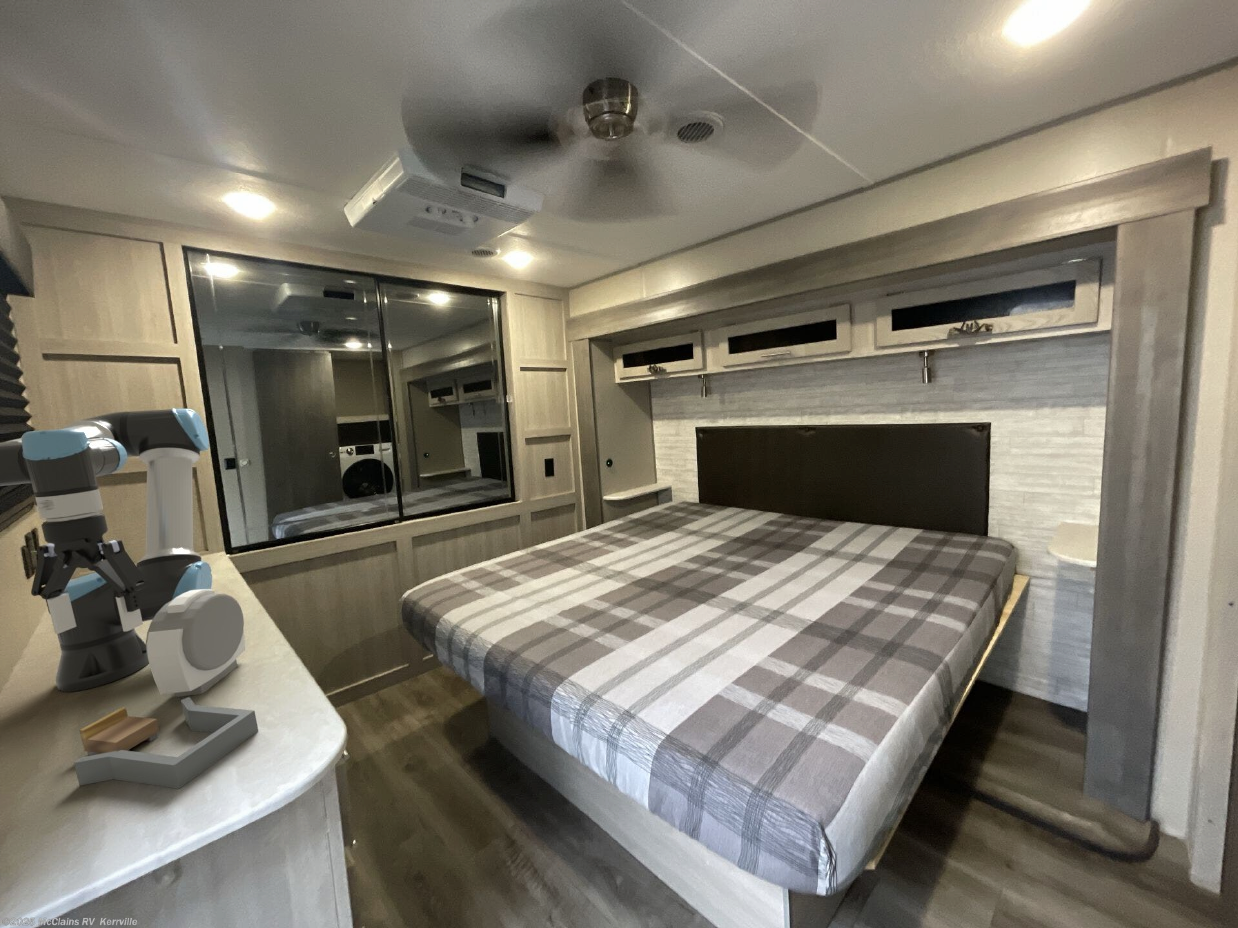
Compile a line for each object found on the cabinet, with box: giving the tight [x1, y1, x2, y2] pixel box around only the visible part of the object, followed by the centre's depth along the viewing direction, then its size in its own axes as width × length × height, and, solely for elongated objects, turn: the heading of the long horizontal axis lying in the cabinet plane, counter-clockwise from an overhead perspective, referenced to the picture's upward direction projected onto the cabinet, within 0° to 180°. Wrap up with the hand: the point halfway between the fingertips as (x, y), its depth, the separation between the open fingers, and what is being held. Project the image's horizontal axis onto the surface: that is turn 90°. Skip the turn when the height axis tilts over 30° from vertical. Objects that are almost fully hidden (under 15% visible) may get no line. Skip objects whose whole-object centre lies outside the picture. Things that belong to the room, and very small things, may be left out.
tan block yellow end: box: [79, 707, 160, 756], centre depth 85 cm, size 8×6×5 cm
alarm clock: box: [145, 588, 246, 698], centre depth 103 cm, size 18×8×20 cm, turn 5°
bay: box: [73, 696, 259, 789], centre depth 82 cm, size 18×17×4 cm
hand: (99, 629), depth 88 cm, fingers open, 13 cm apart
